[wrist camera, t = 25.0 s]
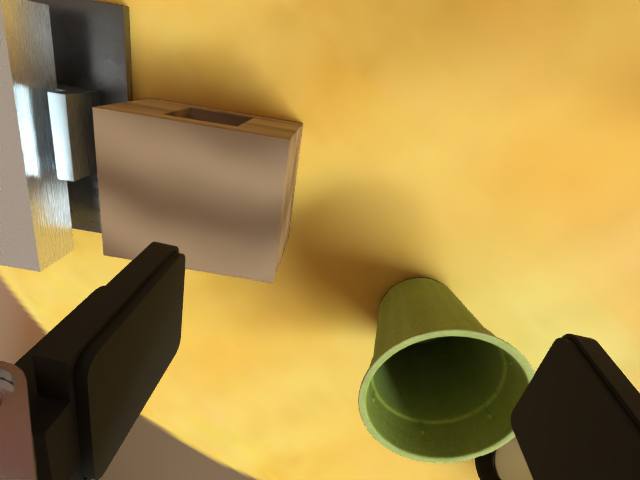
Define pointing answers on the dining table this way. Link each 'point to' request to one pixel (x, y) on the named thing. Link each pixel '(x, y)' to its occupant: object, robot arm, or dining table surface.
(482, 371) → the plant pot
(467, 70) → the dining table surface
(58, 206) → the rectangular steel bar
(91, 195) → the v-block
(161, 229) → the slotted wooden block
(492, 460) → the portable speaker
